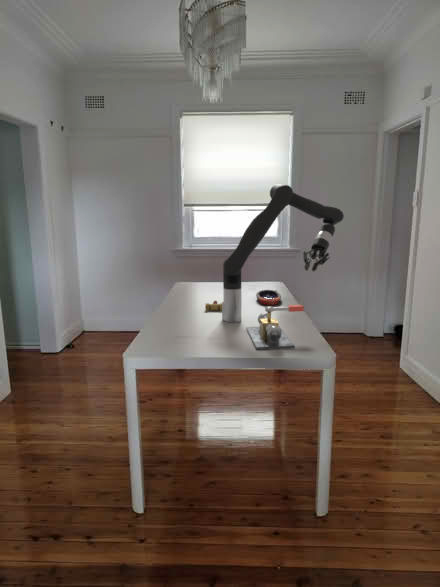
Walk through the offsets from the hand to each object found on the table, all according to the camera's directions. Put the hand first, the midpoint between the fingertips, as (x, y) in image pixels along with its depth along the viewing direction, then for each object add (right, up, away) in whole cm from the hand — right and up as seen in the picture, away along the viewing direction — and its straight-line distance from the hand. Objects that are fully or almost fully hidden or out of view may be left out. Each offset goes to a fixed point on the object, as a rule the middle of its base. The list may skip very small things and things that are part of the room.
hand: (309, 269), depth 179 cm
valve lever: (-14, -19, -13) cm, 27 cm away
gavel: (-46, -20, +44) cm, 67 cm away
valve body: (-21, -31, -11) cm, 39 cm away
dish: (-12, -16, +57) cm, 61 cm away
